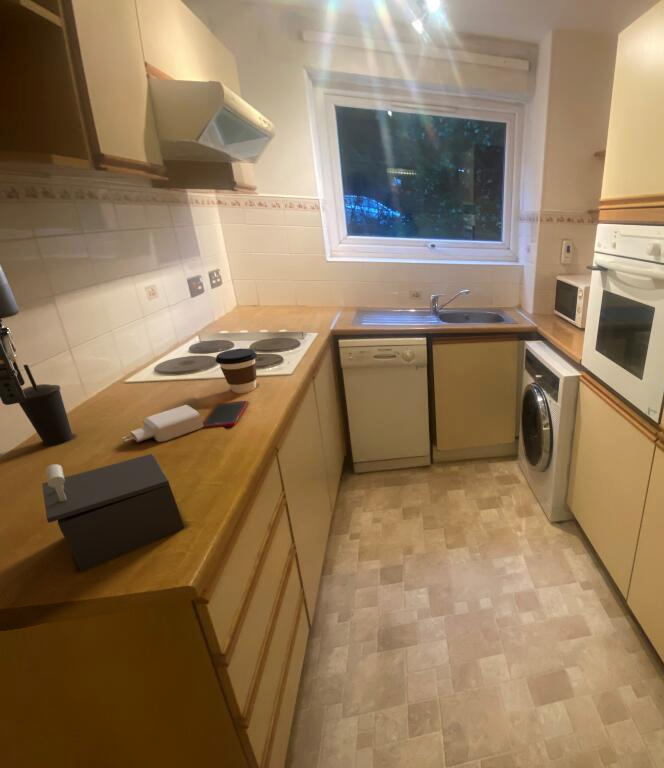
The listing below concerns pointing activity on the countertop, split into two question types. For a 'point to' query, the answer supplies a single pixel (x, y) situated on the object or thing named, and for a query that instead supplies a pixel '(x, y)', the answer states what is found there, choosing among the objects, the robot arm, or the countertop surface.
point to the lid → (99, 486)
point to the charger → (168, 425)
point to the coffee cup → (239, 369)
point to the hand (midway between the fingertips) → (15, 394)
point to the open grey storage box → (120, 526)
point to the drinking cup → (46, 412)
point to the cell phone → (225, 414)
